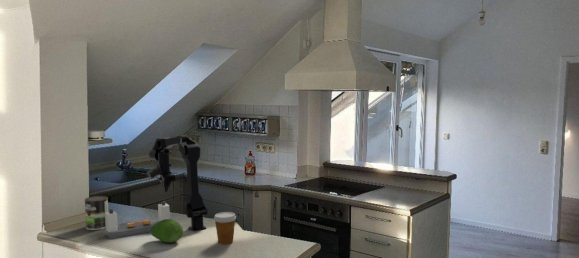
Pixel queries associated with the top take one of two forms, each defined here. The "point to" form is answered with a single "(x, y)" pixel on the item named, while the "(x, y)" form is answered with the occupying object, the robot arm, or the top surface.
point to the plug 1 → (111, 221)
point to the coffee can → (96, 212)
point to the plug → (163, 211)
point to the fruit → (167, 231)
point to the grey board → (131, 230)
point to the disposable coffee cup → (225, 227)
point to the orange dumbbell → (138, 222)
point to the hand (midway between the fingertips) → (165, 191)
